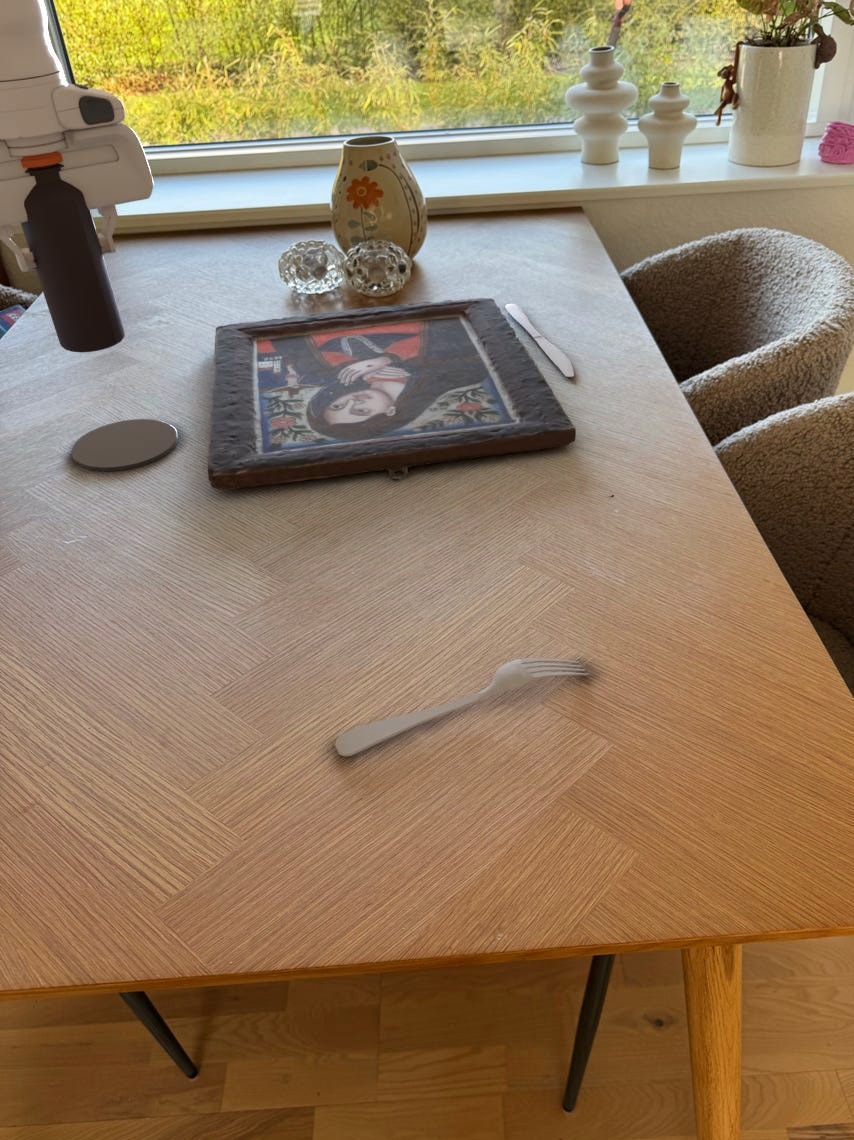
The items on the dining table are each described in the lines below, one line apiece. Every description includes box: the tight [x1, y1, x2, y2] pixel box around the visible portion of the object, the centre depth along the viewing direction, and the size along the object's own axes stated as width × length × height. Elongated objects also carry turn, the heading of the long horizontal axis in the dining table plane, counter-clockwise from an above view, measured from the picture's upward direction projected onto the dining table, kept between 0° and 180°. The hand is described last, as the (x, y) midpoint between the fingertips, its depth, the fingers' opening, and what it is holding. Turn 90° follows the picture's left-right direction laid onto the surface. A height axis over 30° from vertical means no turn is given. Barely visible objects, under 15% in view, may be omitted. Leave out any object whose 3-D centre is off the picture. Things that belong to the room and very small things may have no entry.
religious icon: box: [207, 297, 577, 491], centre depth 119 cm, size 40×45×3 cm
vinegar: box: [20, 151, 126, 353], centre depth 97 cm, size 7×7×20 cm
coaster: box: [71, 418, 179, 472], centre depth 111 cm, size 12×12×1 cm
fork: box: [334, 657, 590, 757], centre depth 74 cm, size 3×21×3 cm, turn 114°
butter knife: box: [504, 303, 575, 378], centre depth 131 cm, size 1×27×3 cm
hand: (69, 260), depth 98 cm, fingers closed on vinegar, 6 cm apart
